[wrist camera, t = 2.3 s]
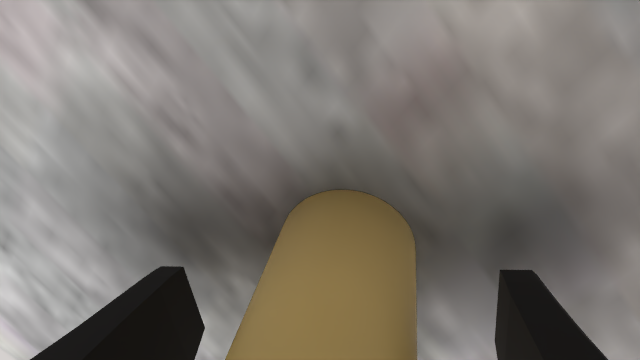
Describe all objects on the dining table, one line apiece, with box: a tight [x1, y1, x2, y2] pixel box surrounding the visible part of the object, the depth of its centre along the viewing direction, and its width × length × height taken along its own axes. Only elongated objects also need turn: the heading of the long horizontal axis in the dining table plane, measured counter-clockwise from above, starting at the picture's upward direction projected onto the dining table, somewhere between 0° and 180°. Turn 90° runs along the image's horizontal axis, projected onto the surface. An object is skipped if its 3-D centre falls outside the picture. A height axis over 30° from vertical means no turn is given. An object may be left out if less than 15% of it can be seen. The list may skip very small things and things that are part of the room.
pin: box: [225, 190, 417, 360], centre depth 9 cm, size 4×4×7 cm
